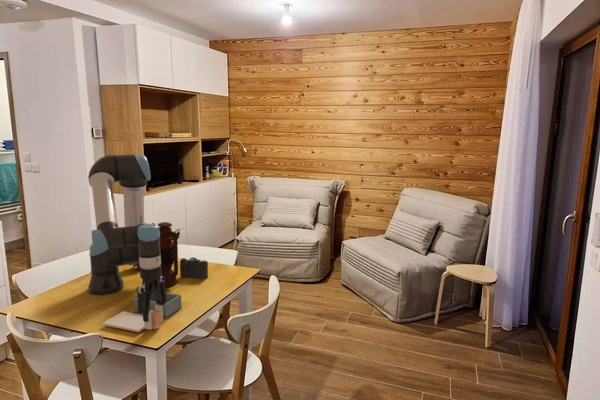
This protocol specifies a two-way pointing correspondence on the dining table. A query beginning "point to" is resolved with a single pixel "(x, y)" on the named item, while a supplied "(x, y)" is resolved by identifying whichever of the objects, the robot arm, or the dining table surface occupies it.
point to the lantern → (168, 253)
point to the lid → (133, 321)
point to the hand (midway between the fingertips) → (153, 324)
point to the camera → (193, 268)
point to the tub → (169, 308)
